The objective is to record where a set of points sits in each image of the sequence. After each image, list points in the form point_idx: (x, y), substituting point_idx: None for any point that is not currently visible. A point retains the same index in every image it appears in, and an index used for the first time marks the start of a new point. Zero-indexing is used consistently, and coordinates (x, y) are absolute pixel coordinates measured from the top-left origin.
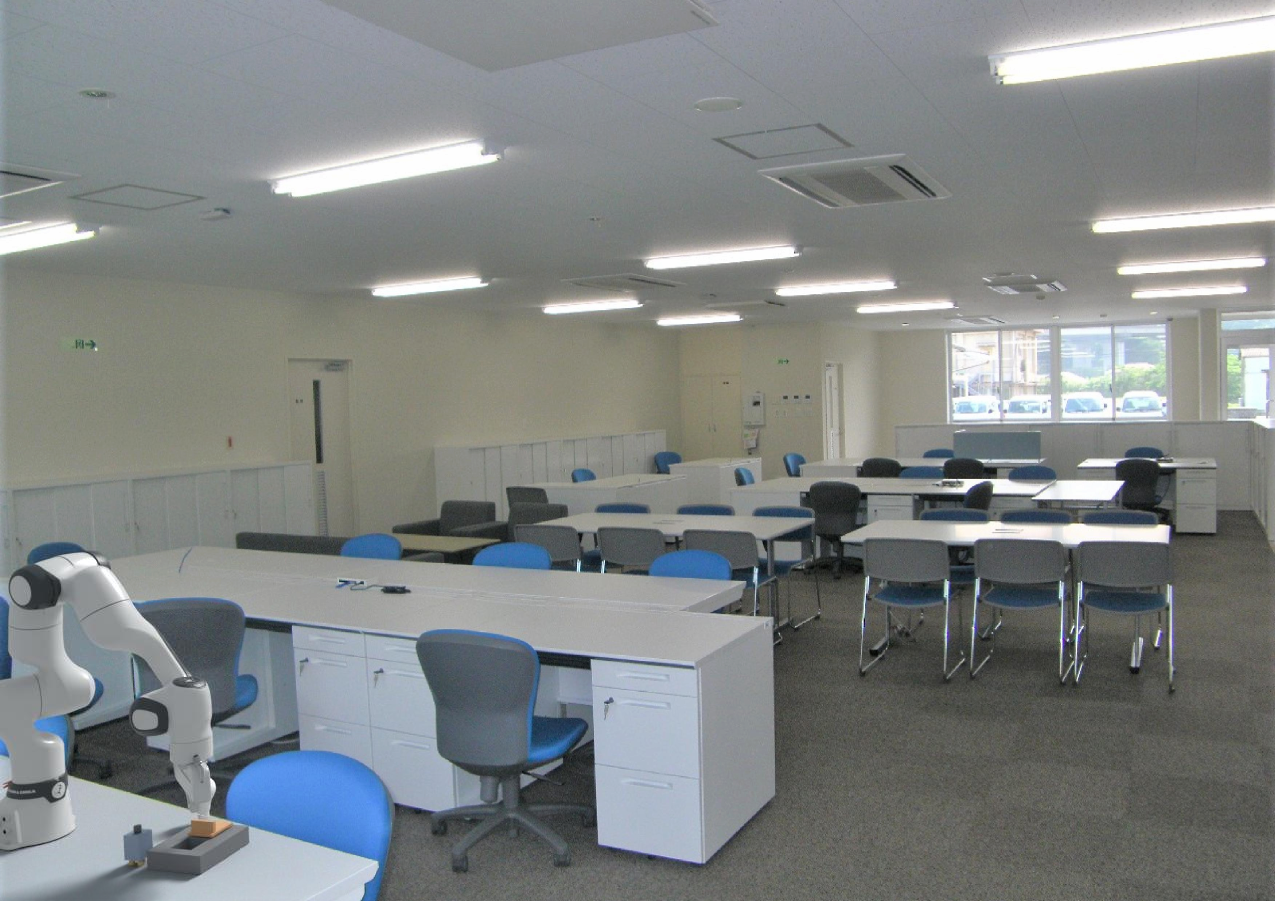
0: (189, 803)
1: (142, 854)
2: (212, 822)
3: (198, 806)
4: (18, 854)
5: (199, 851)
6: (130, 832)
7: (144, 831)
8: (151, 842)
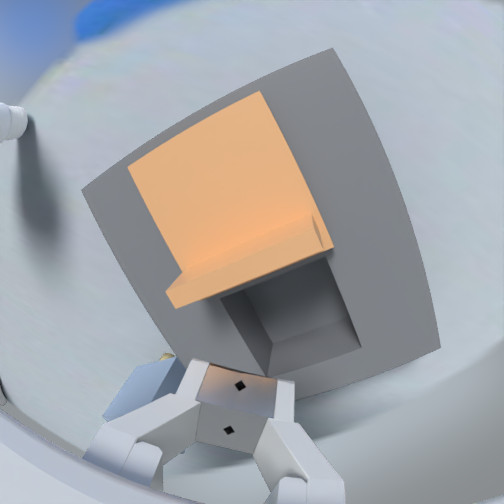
0: (221, 444)
1: None
2: (317, 250)
3: (293, 407)
4: (20, 406)
5: (405, 333)
6: None
7: None
8: (165, 384)
